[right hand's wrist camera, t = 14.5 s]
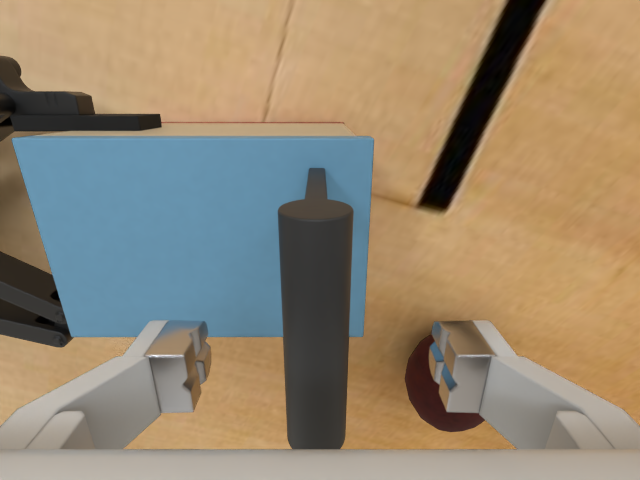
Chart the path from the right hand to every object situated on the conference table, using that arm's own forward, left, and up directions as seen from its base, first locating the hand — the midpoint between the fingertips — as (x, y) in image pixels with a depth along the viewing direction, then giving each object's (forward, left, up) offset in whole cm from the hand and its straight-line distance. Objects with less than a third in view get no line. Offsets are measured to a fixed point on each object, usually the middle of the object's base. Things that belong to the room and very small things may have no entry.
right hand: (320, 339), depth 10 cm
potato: (-8, +17, -18) cm, 26 cm away
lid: (+5, -1, -8) cm, 10 cm away
